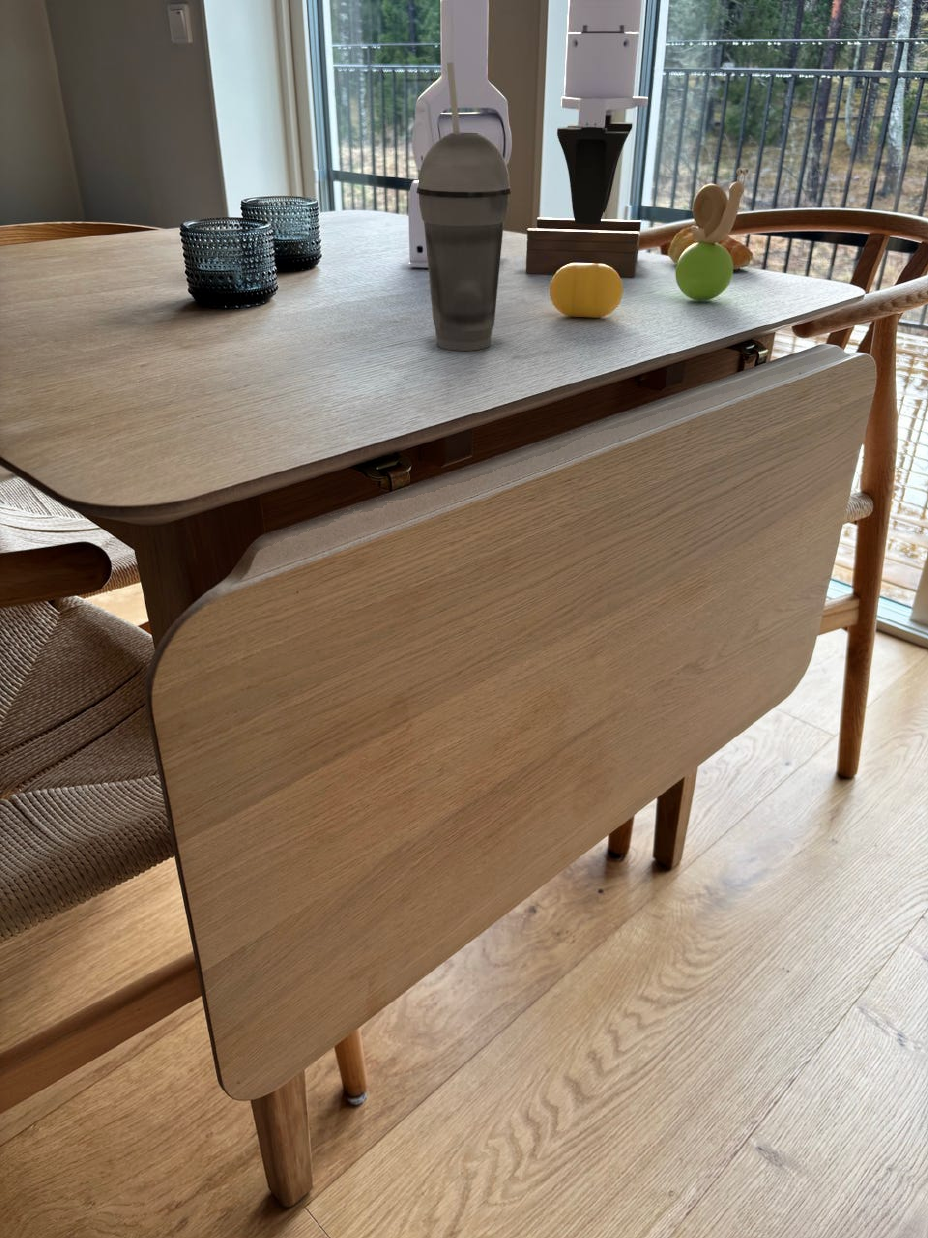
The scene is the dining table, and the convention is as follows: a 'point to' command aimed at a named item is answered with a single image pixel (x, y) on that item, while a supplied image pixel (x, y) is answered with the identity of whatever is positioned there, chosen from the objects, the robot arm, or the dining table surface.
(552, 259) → the brown blocks
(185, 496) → the dining table surface
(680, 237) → the pastry
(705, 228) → the snail figurine
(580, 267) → the yellow oval piece
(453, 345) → the beverage cup
